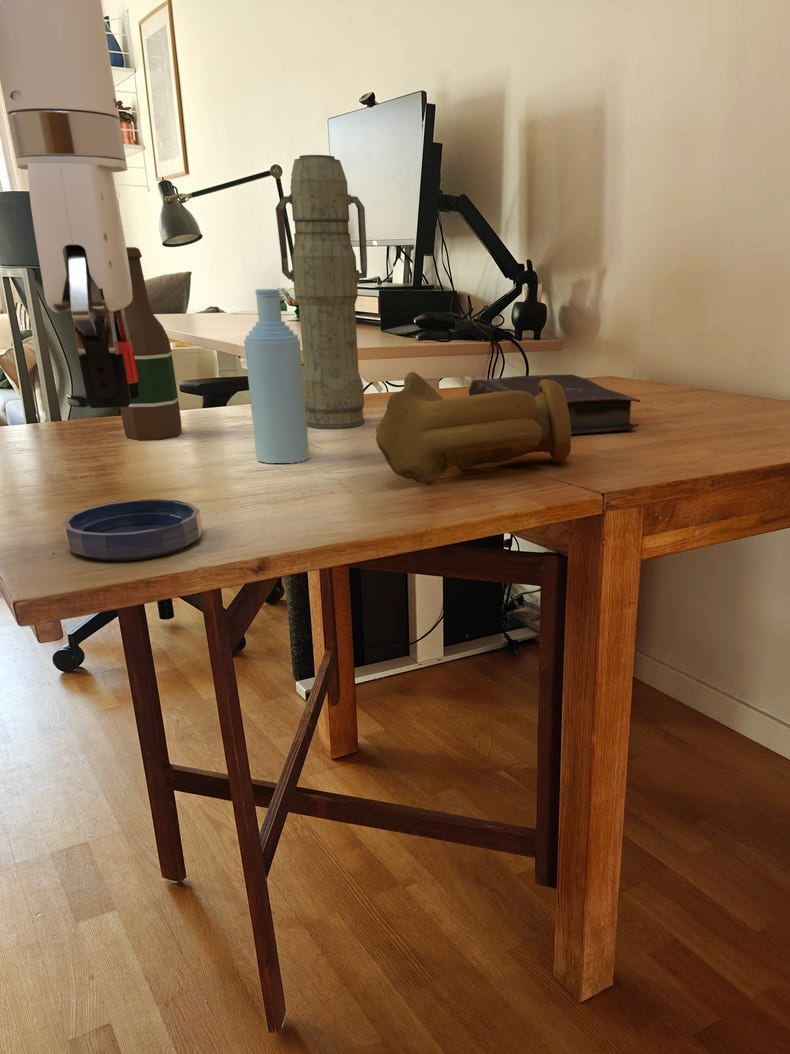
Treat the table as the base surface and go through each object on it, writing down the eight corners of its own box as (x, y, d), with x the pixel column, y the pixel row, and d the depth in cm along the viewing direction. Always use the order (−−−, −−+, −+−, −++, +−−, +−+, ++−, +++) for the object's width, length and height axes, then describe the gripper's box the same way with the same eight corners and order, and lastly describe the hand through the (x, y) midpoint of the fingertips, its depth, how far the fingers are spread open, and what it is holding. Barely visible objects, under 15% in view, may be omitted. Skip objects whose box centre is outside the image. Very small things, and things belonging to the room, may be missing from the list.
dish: (80, 572, 69) (74, 542, 68) (59, 537, 77) (54, 510, 76) (217, 549, 74) (213, 521, 73) (183, 519, 83) (180, 493, 82)
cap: (146, 379, 72) (139, 341, 71) (126, 386, 68) (119, 346, 67) (99, 379, 72) (92, 341, 71) (77, 386, 68) (69, 346, 67)
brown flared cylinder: (373, 393, 107) (547, 360, 107) (394, 497, 108) (565, 464, 109) (360, 362, 88) (570, 322, 89) (385, 488, 90) (591, 448, 90)
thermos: (291, 420, 131) (268, 158, 117) (368, 416, 134) (355, 161, 120) (297, 430, 124) (273, 151, 109) (378, 426, 127) (365, 154, 112)
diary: (520, 439, 118) (520, 401, 116) (468, 410, 140) (468, 378, 138) (643, 431, 123) (646, 395, 121) (574, 404, 145) (576, 373, 143)
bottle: (267, 466, 103) (249, 291, 95) (249, 456, 108) (231, 289, 100) (317, 460, 106) (303, 289, 98) (298, 451, 111) (284, 288, 103)
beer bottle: (189, 437, 119) (162, 247, 110) (130, 442, 116) (97, 247, 106) (177, 428, 126) (150, 247, 116) (120, 433, 122) (88, 247, 112)
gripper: (43, 157, 70) (88, 390, 78) (-22, 132, 55) (41, 422, 63) (140, 158, 71) (174, 386, 79) (102, 133, 57) (149, 417, 64)
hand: (115, 400), depth 71 cm, fingers closed on cap, 3 cm apart
